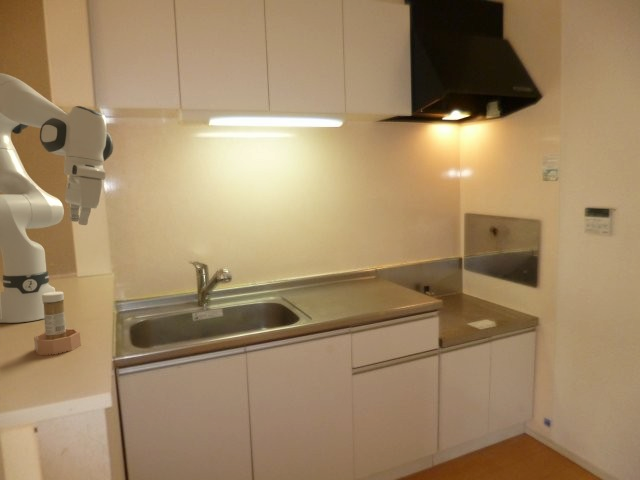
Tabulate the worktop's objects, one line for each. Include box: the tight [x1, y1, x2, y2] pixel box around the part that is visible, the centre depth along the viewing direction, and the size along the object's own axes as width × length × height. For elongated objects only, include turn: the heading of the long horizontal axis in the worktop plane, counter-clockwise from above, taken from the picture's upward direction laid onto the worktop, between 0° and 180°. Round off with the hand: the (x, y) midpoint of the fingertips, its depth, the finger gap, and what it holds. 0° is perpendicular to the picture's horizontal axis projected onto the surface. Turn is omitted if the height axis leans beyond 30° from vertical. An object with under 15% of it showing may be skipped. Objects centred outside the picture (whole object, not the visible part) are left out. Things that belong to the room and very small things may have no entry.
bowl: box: [33, 328, 82, 356], centre depth 107 cm, size 9×9×4 cm
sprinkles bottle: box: [42, 291, 67, 340], centre depth 107 cm, size 5×5×13 cm
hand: (78, 223), depth 112 cm, fingers open, 8 cm apart
